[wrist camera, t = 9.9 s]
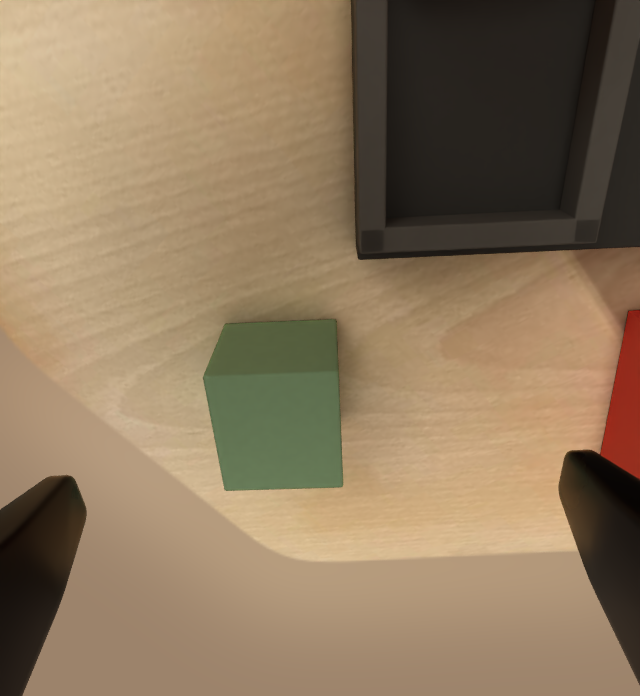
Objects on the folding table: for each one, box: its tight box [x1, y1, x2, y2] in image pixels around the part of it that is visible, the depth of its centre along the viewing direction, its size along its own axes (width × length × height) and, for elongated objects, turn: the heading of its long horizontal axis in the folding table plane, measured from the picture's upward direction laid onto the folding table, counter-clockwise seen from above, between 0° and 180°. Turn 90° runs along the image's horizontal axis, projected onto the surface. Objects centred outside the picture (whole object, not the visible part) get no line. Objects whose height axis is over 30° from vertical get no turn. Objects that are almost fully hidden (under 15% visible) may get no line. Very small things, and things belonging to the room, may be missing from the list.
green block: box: [203, 319, 343, 491], centre depth 19 cm, size 4×5×4 cm
